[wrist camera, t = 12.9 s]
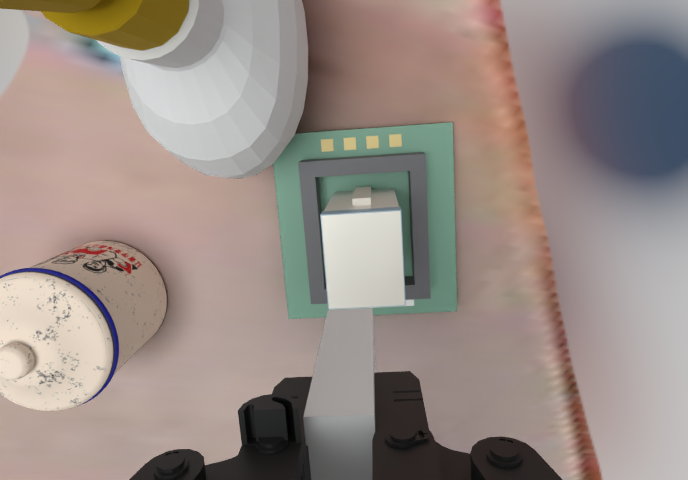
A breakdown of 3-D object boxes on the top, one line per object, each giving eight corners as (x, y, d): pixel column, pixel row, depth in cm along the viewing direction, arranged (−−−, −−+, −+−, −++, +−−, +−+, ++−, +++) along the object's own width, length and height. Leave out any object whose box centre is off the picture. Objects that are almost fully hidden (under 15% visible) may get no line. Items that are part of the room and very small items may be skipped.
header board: (453, 303, 38) (461, 322, 34) (292, 311, 39) (284, 329, 35) (449, 122, 35) (457, 122, 32) (274, 134, 36) (264, 136, 32)
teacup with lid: (161, 232, 38) (71, 280, 27) (180, 346, 40) (103, 437, 29) (6, 243, 39) (-145, 294, 27) (33, 354, 41) (-99, 445, 29)
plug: (398, 260, 36) (405, 306, 27) (339, 263, 36) (328, 309, 27) (394, 181, 35) (400, 203, 26) (333, 185, 35) (319, 207, 26)
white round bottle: (337, 164, 36) (248, 270, 11) (211, 168, 37) (-158, 276, 11) (329, -63, 33) (175, -687, 7) (190, -56, 33) (-389, -611, 8)
